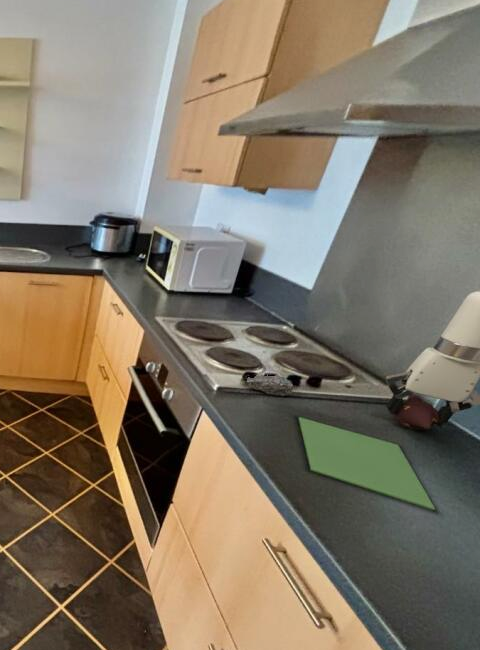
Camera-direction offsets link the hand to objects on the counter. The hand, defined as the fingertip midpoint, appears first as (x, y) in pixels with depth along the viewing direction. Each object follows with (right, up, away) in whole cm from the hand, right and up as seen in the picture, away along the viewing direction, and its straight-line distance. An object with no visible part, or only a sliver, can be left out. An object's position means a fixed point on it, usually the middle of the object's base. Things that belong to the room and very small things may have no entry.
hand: (413, 417), depth 97 cm
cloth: (-24, -7, -12) cm, 28 cm away
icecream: (0, -2, +1) cm, 3 cm away
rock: (-25, +6, +13) cm, 29 cm away
